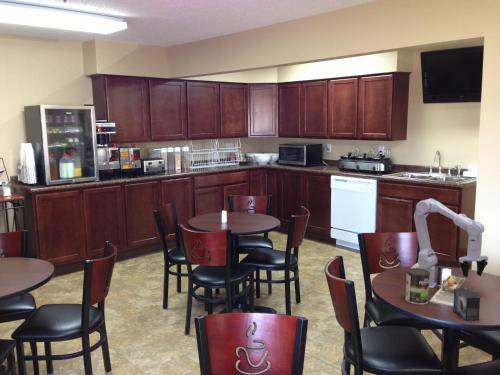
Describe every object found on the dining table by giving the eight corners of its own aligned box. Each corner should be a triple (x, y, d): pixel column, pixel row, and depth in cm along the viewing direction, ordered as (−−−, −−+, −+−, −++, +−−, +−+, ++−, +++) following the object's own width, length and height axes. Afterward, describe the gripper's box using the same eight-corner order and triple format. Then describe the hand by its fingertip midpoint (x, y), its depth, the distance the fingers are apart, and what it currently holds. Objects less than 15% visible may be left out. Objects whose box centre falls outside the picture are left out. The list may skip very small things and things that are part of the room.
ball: (446, 285, 216) (446, 279, 216) (447, 284, 219) (448, 278, 218) (453, 287, 214) (453, 281, 214) (454, 285, 217) (455, 279, 216)
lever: (441, 293, 218) (441, 283, 217) (449, 283, 231) (450, 274, 230) (457, 297, 213) (457, 286, 213) (464, 286, 227) (465, 276, 226)
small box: (451, 310, 203) (453, 288, 202) (465, 310, 204) (467, 287, 202) (464, 321, 193) (466, 297, 191) (479, 320, 193) (481, 296, 192)
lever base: (429, 302, 213) (430, 290, 212) (442, 286, 233) (443, 275, 232) (459, 308, 205) (460, 296, 204) (470, 292, 225) (471, 280, 224)
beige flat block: (435, 299, 214) (436, 294, 214) (440, 294, 220) (440, 289, 220) (456, 303, 209) (456, 298, 209) (460, 298, 215) (460, 293, 215)
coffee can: (433, 302, 213) (435, 272, 211) (417, 306, 208) (418, 276, 206) (416, 294, 222) (417, 266, 220) (400, 298, 217) (401, 269, 215)
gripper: (466, 251, 211) (464, 279, 213) (493, 249, 214) (491, 277, 216) (456, 247, 218) (454, 274, 220) (482, 245, 221) (480, 272, 223)
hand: (472, 275), depth 219 cm, fingers open, 7 cm apart
